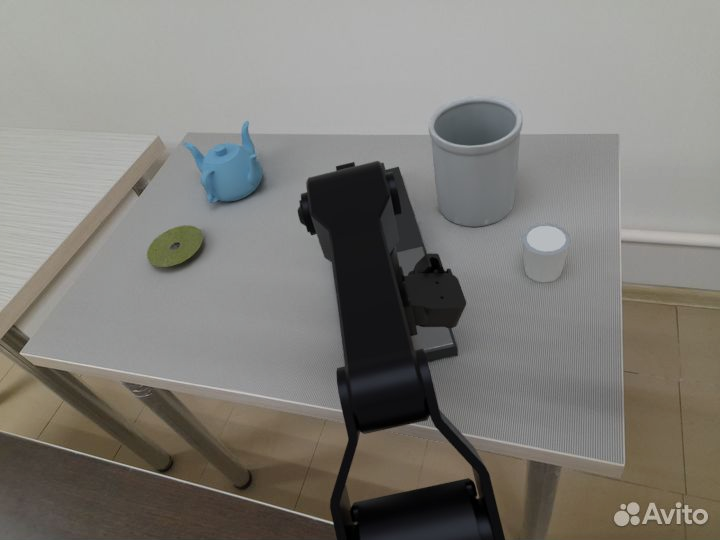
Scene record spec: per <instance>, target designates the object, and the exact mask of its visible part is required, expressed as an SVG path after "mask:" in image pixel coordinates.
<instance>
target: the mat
mask: <svg viewBox="0 0 720 540" xmlns="http://www.w3.org/2000/svg"><path fill="white" fill-rule="evenodd" d="M203 237H204V236H203V233H202V230H201V229H199V228H198V227H196V226H194V225H181V226H180V225H179V226H175V227H173V228H171V229H168V230H165V231H164V232H162V233H161V234H159V235H158V236H156V237H155V238H154V239H153V240H152V242H151V243H150V245H149V246H148V249H147V251H146V258H147V261H148V262H149V263H150V264H151V265H153V266H155V267H159V268H167V267H173V266H176V265H179V264H182V263H184V262H186V261H187V260H188V259H190V258H191V257H192V256H194V255H195V254H196V252H197V251H198V250H199V249H200V247H201V245H202V243H203V240H204V238H203Z"/></svg>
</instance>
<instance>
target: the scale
mask: <svg viewBox="0 0 720 540" xmlns="http://www.w3.org/2000/svg"><path fill="white" fill-rule="evenodd" d="M381 164H382V166H383V170H384V173H388V172H392V173H393V175H394V179H395V182H396V186H397V191H398V195H399V200H400V205H401V211H402V214H399V215H395V221H396V226H397V231H398V236H399V241H398V242H397V244H396V250H397V255H398V261H399V265H400V267H401V266H402V270H403V273H404V276H408V273H409V272H410V271H413V270H414V268H415V265H416V263H417V262H418V261H419V260H420V259H421V258H422V257H424V256H425V255H426V254H428V252H427V249H426V246H425V243H424V240H423V237H422V233H421V231H420V227H419V224H418V222H417V218H416V215H415V212H414V208H413V206H412V202H411V200H410V197H409V194H408V191H407V187H406V185H405V184H406V183H405V182H404V179H403V175H402V172H401V169H400V166H396V167H391V168H388V169H386V167H385V162H381ZM331 266H332V268H331V269H333V264H332V263H331ZM332 275H333V276H334V272H333V271H332ZM333 282H334V283H335V280H334V279H333ZM416 328H417V334H418V335H414V336H411V339H412V343H413V346H414V350H420V349H424V352H425V355H426V358H427V362H428V363H430V362H433V361H438V360H443V359H447V358H451V357H452V358H453V357H457V356H458V355H459V350H458V344H457V341H456V338H455V335H454V331H453V328H446V327H421V326H416Z"/></svg>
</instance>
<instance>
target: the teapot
mask: <svg viewBox="0 0 720 540" xmlns="http://www.w3.org/2000/svg"><path fill="white" fill-rule="evenodd" d="M249 126H250V121H249V120H246V121H245V122H244V123H243V124H242V126H241V131H240V133H241V145H239V144H237V143H234V142H225V143H220V144H216V145H215V146H214V147H212V148H211V149H210V150H209V151H207V152H206V154H205V155H204V154H203V153H201V152H202V151H200V149H198V148H197V147H196V145H194V144H193V143H190V142H183V143H182V145H183V147H185V148H186V149H188V150H189V152H190V153H191V155H192V157H193V159H194V162H195V165H196V167H197V168H198V170H199V171H200V172H201V176H200V184H201V186H202V187H203V189H204V192H205V193H206V194H207V196H206V200H207V202H208V203H209V204H215V203H217V202H218V201H220V202H235V201H239V200H242V199H244V198H246V197H248V196H250V195H251V194H253V193H254V192H255V191H256V190H257V188H258V187H259V185H260V183H261V181H262V179H263V176H264V169H263V166H262V165H261V163H260V162H259V160H258V159H257V157H258V155H259V153H256V148H255V145H254V143H253V141H252V138H251V136H250V133H249Z"/></svg>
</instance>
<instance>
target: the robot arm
mask: <svg viewBox="0 0 720 540" xmlns="http://www.w3.org/2000/svg"><path fill="white" fill-rule="evenodd" d="M381 163H382V162H381V161H380V160H375V161H371V162H367V163H363V164H359V165H356V163H355V161H352V162H349V163H344V164H339V165H336V166H335V170H334V171H330V172H326V173H325V172H324V173H321V174H318V175H313V176H309V177H308V178H307V179H306V182H305V186H306V192H303V193H302V192H301V193H300V200H299V201H298V202H299V207H298V208H297V216H298V219H299V222H300V224H301V225H303V226H305V228H306V231H307V233H309V234H310V236H315V235H316V237H317V239H318V243H319V245H320V248H321V252H322V254H323V258H324V259H326V260H327V261H329V262H331V265H332V264H333V268H332V273H333V272H334V275H333V281H334V280H335V282H334V287H335V288H334V289H335V295H336V303H337V312H338V320H339V328H340V334H341V335H340V337H341V345H342V352H343V353H342V354H343V360H344V362H343V363H344V366H341V367H340V366H339V367H336V371H335V372H336V386H337V390H338V393H337V394H338V398H339V402H340V408H341V412H342V416H343V421H344V426H345V429H346V433H347V434H346V435H347V443H346V446H345V450H344V453H343V456H342V460H341V463H340V466H339V470H338V473H337V476H336V480H335V483H334V487H333V490H332V493H331V496H330V500H329V510H330V514H331V520H332V524H333V528H334V533H335V538H336V540H506V537H505V533H504V528H503V524H502V521H501V516H500V512H499V508H498V505H497V500H496V495H495V492H494V488H493V483H492V479H491V475H490V473H489V470H488V469H487V467H486V465H485V463H484V462H483V460H482V458H481V457H480V455H479V452H478V451H477V449H476V447H475V446H474V445H473V444H472V443H471V442H470V440H468V439H467V437H466V436H465V435H464V434H463V433H462V432H461V431H460V430H459V428H457V426H456V425H454V424H453V422H451V420H450V419H449V418H448V417H447V416H446V415H445V414H444V412H443V411H442V410H440V406H439V403H438V399H437V395H436V394H437V393H436V389H435V385H434V382H433V378H432V374H431V370H430V367H429V362H427V358H426V355H425V352H424V349H420V350H414V346H413V343H412V339H411V336H414V335H418V334H417V328H416V326H421V327H446V328H452V329H453V328H455V327H457V326H458V324H459V321H460V319H461V317H462V315H463V313H464V310H465V308H466V306H467V300H466V297H465V294H464V292H463V289H462V286H461V284H460V283H461V282H460V280H459V278H458V277H457V276H456V275H455V274H454V273H453V272H452V269H451V268H446V270H445V268H444V266H443V263H442V260H441V257H440V254H438V253H427V254H426V255H425V256H424V257H422V258H421V259H420V260H419V261H418V262H417V263H416V265H415V268H414V270H413V271H410V272H409V273H408V276H404V273H403V270H402V266H401V267H400V266H399V261H398V255H397V250H396V244H397V242H398V241H399V236H398V231H397V226H396V221H395V215H399V214H402V211H401V205H400V200H399V195H398V191H397V186H396V182H395V179H394V175H393V173H392V172H388V173H384V170H383V166H382V164H381ZM429 418H430V419H431V420H430V421H432V423H433V426H434V427H435V429H437V430H438V431H439V433H440V434H441V435H442V436H443V437H444V438H445V439H446V440H447V441H448V442H449V444H450V445H452V447H453V448H454V449H455V450H456V451H457V452H458V453H459V455H461V457H462V458H463V459H464V460H465V461H466V462H467V463H468V464H469V465H470V466H471V470H472V475H473V478H474V480H472V479H471V478H470V477H467V478H463V479H462V478H461V479H457V480H453V481H448V482H444V483H443V482H442V483H439V484H435V485H429V486H424V487H420V488H416V489H411V490H406V491H401V492H397V493H391V494H387V495H381V496H378V497H372V498H369V499H364V500H363V499H362V500H359V501H355V502H352V503H353V504H352V505H351V501H350V496H349V492H348V488H347V487H348V486H347V480H348V478H349V474H350V470H351V467H352V464H353V460H354V456H355V454H356V450H357V447H358V444H359V439H360V435H361V434H363V435H367V434H372V433H376V432H380V431H385V430H389V429H394V428H398V427H403V426H404V427H405V426H408V425H412V424H416V423H417V424H418V423H421V422H427V421H428V420H429ZM474 481H475V482H474Z"/></svg>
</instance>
